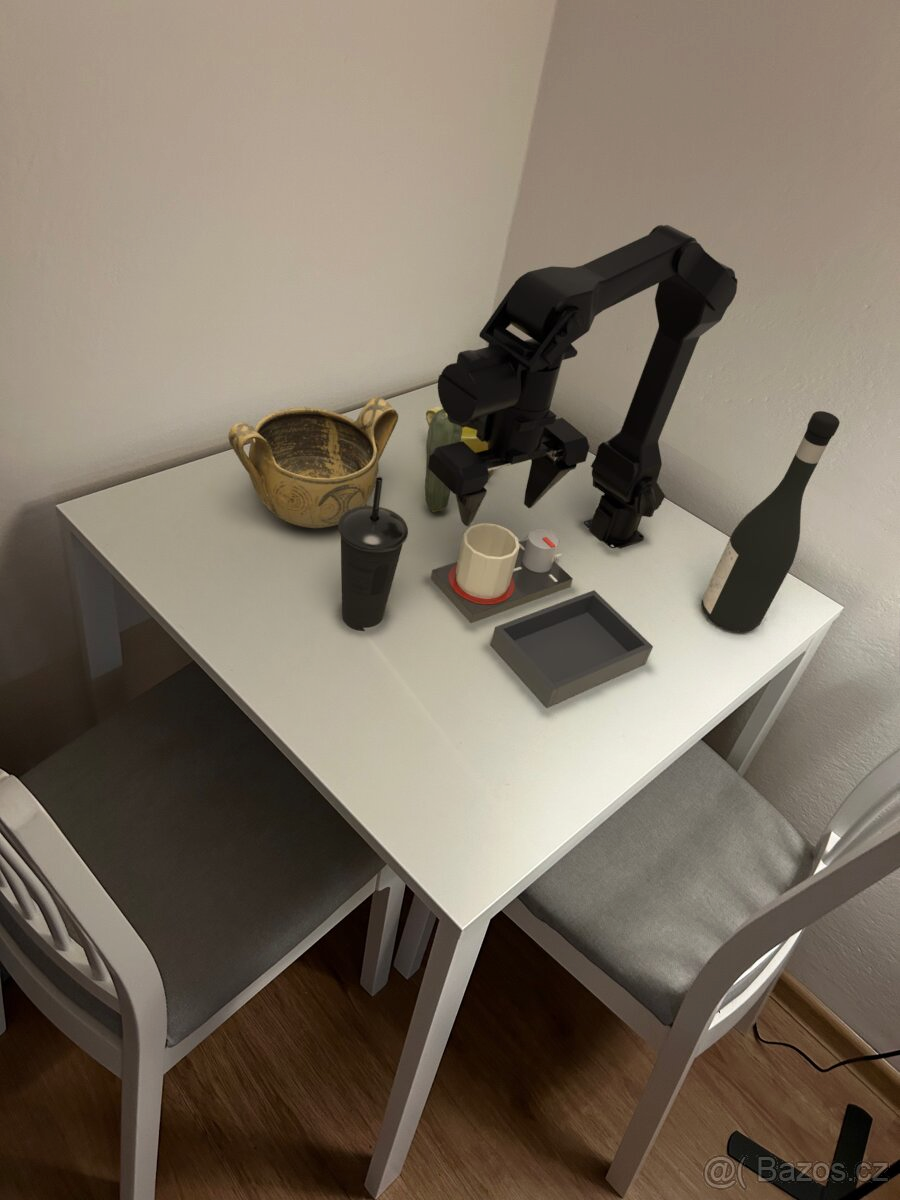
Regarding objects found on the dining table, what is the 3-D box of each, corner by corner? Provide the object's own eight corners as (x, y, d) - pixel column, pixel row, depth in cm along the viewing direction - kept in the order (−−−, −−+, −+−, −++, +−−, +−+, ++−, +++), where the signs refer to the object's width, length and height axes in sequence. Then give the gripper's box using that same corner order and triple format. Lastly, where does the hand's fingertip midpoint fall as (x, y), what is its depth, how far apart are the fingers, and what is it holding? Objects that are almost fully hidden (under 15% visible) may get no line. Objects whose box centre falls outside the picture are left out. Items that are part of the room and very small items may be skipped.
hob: (536, 546, 122) (540, 534, 121) (578, 586, 117) (582, 574, 116) (429, 581, 114) (432, 568, 112) (469, 626, 109) (472, 613, 107)
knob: (515, 557, 117) (522, 531, 114) (539, 549, 119) (546, 524, 116) (534, 576, 114) (542, 550, 112) (558, 567, 116) (566, 542, 114)
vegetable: (442, 526, 123) (466, 397, 109) (412, 518, 123) (432, 388, 110) (449, 508, 126) (473, 380, 113) (419, 500, 126) (440, 372, 113)
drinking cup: (403, 608, 109) (426, 472, 96) (379, 647, 104) (399, 509, 90) (346, 587, 110) (360, 450, 97) (319, 625, 105) (330, 485, 92)
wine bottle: (689, 615, 117) (781, 414, 97) (711, 586, 122) (803, 390, 102) (746, 645, 114) (853, 445, 94) (767, 614, 119) (871, 419, 99)
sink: (586, 610, 114) (594, 589, 112) (644, 667, 108) (653, 646, 106) (489, 648, 106) (494, 626, 104) (545, 711, 100) (552, 690, 98)
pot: (488, 558, 116) (497, 518, 111) (518, 590, 112) (529, 549, 108) (445, 571, 112) (453, 531, 108) (475, 605, 108) (485, 564, 104)
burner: (488, 553, 117) (489, 552, 116) (527, 593, 112) (527, 592, 112) (435, 570, 112) (435, 569, 112) (473, 612, 108) (473, 611, 108)
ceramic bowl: (262, 569, 110) (264, 468, 100) (206, 494, 120) (202, 394, 110) (413, 525, 122) (428, 430, 112) (351, 459, 131) (359, 366, 121)
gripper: (545, 349, 104) (518, 462, 114) (410, 374, 95) (393, 494, 105) (608, 397, 98) (573, 511, 108) (469, 428, 88) (446, 550, 99)
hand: (497, 515), depth 105 cm, fingers open, 9 cm apart
